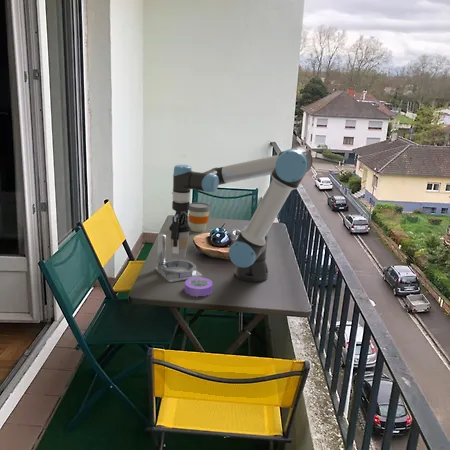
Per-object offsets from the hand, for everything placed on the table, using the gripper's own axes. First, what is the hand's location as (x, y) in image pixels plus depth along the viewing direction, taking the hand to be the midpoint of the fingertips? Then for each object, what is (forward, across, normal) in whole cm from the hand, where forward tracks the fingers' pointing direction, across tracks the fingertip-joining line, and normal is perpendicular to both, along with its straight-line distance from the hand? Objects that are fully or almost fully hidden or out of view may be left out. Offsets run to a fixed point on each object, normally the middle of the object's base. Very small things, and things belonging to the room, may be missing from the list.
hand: (179, 249), depth 206 cm
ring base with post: (+11, 0, 0) cm, 11 cm away
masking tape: (+12, +14, +14) cm, 23 cm away
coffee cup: (+3, 0, 0) cm, 3 cm away
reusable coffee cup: (+12, -66, -12) cm, 68 cm away
